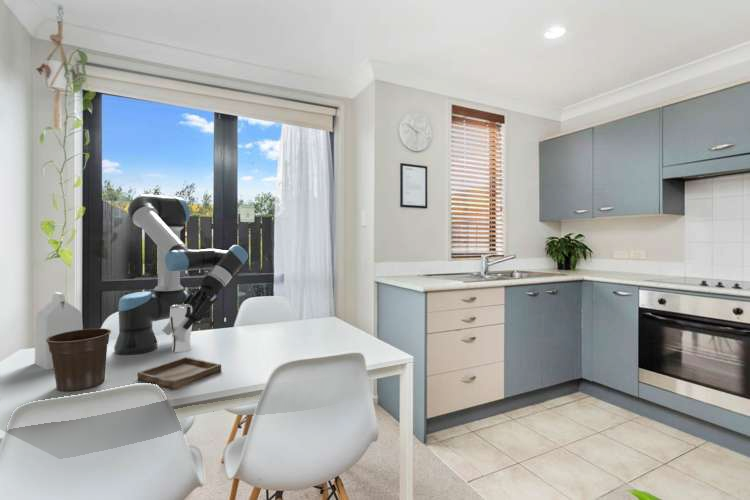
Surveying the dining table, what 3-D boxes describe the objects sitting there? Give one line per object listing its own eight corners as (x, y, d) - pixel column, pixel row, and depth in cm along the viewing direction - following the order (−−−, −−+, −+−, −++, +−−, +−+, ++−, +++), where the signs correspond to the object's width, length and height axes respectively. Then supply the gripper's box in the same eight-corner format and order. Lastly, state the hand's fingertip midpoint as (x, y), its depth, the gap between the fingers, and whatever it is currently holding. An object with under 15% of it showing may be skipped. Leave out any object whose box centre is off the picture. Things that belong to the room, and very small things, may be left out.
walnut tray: (137, 380, 122) (137, 372, 122) (186, 363, 139) (186, 356, 138) (174, 390, 115) (174, 382, 114) (221, 371, 131) (221, 364, 131)
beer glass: (183, 353, 122) (182, 308, 121) (165, 352, 123) (164, 307, 123) (197, 347, 129) (197, 304, 128) (180, 346, 130) (179, 303, 129)
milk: (85, 360, 141) (84, 292, 140) (46, 369, 131) (44, 296, 130) (72, 354, 147) (71, 289, 146) (34, 363, 137) (32, 293, 136)
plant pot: (34, 389, 114) (33, 338, 114) (91, 372, 129) (90, 326, 129) (68, 398, 108) (67, 344, 108) (123, 378, 124) (122, 330, 123)
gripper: (238, 289, 132) (194, 346, 119) (207, 285, 143) (164, 336, 131) (224, 276, 127) (177, 333, 115) (194, 272, 139) (148, 324, 126)
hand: (170, 334), depth 123 cm, fingers closed on beer glass, 7 cm apart
